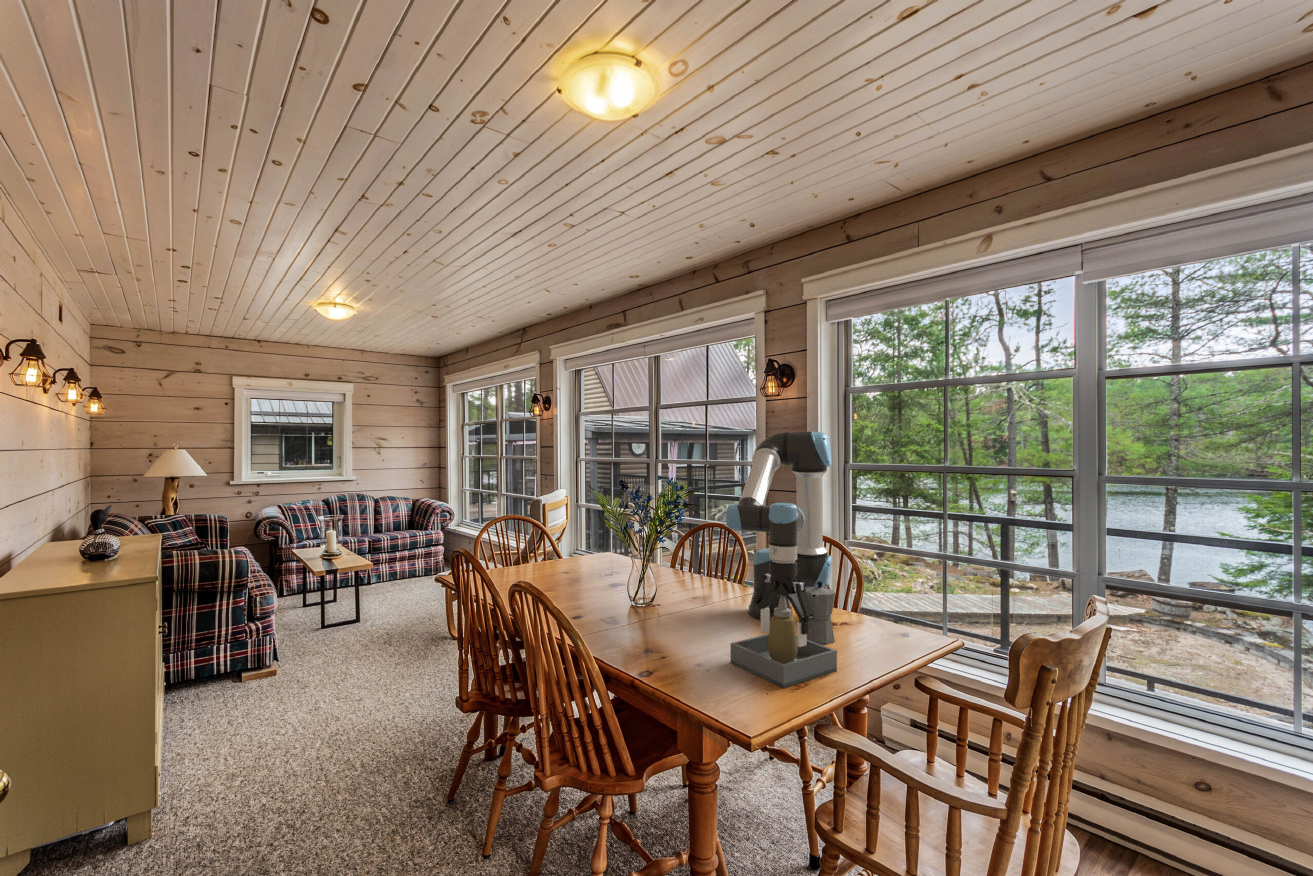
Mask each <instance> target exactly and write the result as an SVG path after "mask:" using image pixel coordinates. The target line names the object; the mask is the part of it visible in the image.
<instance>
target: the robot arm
mask: <svg viewBox="0 0 1313 876" xmlns="http://www.w3.org/2000/svg"><path fill="white" fill-rule="evenodd" d="M751 458H752V466H751V469H750V472H749V473H748V476H747V479H746V482H745V485H744V486H743V491H742V492H741V495H740V498H739V501H738V504H737V503H735V504H729V505H728V506H727V508H726V512H725V523H726V526H727V528H728V529H730V530H733V531H734V530H737V531H743V532H744V531H745V532H763V533H768V541H769V542H768V547H767V548H762V549H757V551H755V552H754V555H753V556H754V557H753V594H752V596H751V601H750V604H749V605H748V615H749V614H750V615H749V616H751V617H752V616H753V617H752V618H756V619H759V620H760V633H762V634H764V633H769V629H770V620H771V617H772V616H774V609H775V608H777V607H778V605H779V600H780V596H785V600H786V604H787V608H789V609H791V617H793V610H794V612H795V614H796V617H798V620H797V622H796V625H797V626H796V636H797V646H798V647H802V646H805V645H807V634H808V622H809V621H812V620H815V616H814V613H813V610H812V608H811V605H810V602H809V599H808V596H807V593H806V589H807V588H812V587H818V583H817V582H818V581H821V582H823V583H822V586H825V585H826V584H827V585H829V583H830V578H831V574H832V567H833V556H831V555H829V553H828V549H827V548H826V547H825V546H824V543H823V542H824V540H823V539H824V538H823V537H824V536H823V533H824V532H823V529H824V525H823V524H824V523H823V522H824V521H823V514H824V513H823V476H824V475H825V474H826V473H827V471H828V468H829V467H831V466H832V462H833V461H832V450H831V443H830V440H829V437H828V435H827V434H826V433H825V432H821V431H813V430H812V431H779V432H776V433H773V434H771V435H770V436H768V437H766V438H765V439H764V440H763V441H761V442H760V443H759V444H758V446H757V447H756V448H755V450H754V453H753V454H752V457H751ZM781 466H789V467H791V473H793V474H794V475H795V477H796V478H795V479H796V480H795V481H796V482H795V483H796V504H795V503H791V502H775V503H771V504H770V505H769V506H768V505H765V502H766V500H767V496H768V495H769V494H768V493H769V491H770V487H771V484H772V482H773V478H774V475H775V472H777V470H778V469H779V468H780V467H781Z"/></svg>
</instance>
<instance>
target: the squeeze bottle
mask: <svg viewBox="0 0 1313 876" xmlns="http://www.w3.org/2000/svg"><path fill="white" fill-rule="evenodd" d="M768 634H769V639H768V651H769V654H770V657H771V659H773V660H775V661H777V662H780V663H782V664H786V663H789V662H793V661H794V660H795V657H796V655H797V652H798V648H797V638H796V636H797V627H796V620H795V618H794V617H793V616H792V617H791V609H789V608H787V604H786V600H785V596H780V600H779V605H778V607H777V608H775V609H774V616H772V617H771V620H770V629H769V631H768Z"/></svg>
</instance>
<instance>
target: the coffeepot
mask: <svg viewBox="0 0 1313 876" xmlns="http://www.w3.org/2000/svg"><path fill="white" fill-rule="evenodd" d="M817 583H818V587H812V588H807V589H806V593H807V596H808V599H809V602H810V605H811V608H812V610H813V613H814V616H815V620H812V621H809V622H808V634H807V640H810V641H812V642H815V643H818V644H820V645H830V644H829V643H831V644H834V642H835V633H834V629H833V622H832V614H833V610H834V602H835V596H836V593H835V590H834V589H831V587H830V585H829V584H828V585H827V584H826V585H825V586H822V583H823V582H821V581H818V582H817Z"/></svg>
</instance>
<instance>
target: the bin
mask: <svg viewBox="0 0 1313 876" xmlns="http://www.w3.org/2000/svg"><path fill="white" fill-rule="evenodd" d="M796 638H797V635H796ZM768 639H769V633H766V634H762V635H758V636H755V637H750V638H747V639H742V640H738V641H734V642H730V664H731V663H732V665H733V664H734V665H733V666H735V667H738V668H739V669H742V670H744V671H746V670H747V671H746V672H748V671H749V673H750V672H751V674H752V673H753V675H754V674H755V676H757V677H759V678H761V679H763V680H765V681H767V682H769V683H771V682H772V684H773V683H774V685H775V684H776V686H777V687H780V688H782V689H787V688H789V686H790V687H793V686H795V685H799V684H802V683H804V682H808V681H811V680H813V679H817V678H820V677H823V676H826V674H827V675H829V673H830V674H832V672H833V673H836V672H837V671H838V650H837V649H834V648H831V647H829V646H826V645H824V644H818V643H815V642H812V641H810V640H807V645H805V646H802V647H798V646H797V648H798V652H797V655H796V657H795V660H794V661H793V662H789V663H786V664H782V663H780V662H777V661H775V660H773V659H771V657H770V654H769V651H768ZM822 675H823V676H822ZM819 676H820V677H819ZM786 687H787V688H786Z"/></svg>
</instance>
